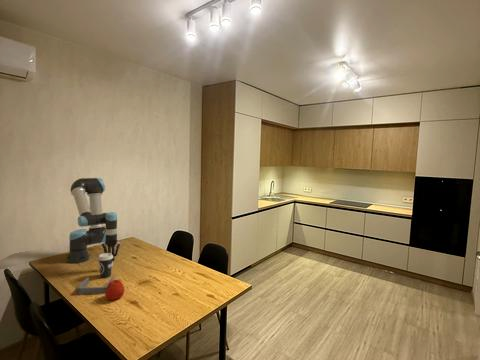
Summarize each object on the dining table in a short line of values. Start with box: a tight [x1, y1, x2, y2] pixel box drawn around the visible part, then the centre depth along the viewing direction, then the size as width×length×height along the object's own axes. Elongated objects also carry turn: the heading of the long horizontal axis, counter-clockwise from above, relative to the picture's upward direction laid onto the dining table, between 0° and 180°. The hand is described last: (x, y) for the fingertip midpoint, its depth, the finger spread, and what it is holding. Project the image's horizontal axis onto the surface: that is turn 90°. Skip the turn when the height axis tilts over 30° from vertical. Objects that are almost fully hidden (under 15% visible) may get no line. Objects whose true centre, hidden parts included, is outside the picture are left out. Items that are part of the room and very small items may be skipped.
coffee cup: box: [97, 252, 113, 279], centre depth 180 cm, size 10×10×15 cm
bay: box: [76, 276, 115, 295], centre depth 164 cm, size 14×16×4 cm
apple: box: [104, 279, 125, 301], centre depth 154 cm, size 10×10×10 cm
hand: (111, 265), depth 191 cm, fingers closed
